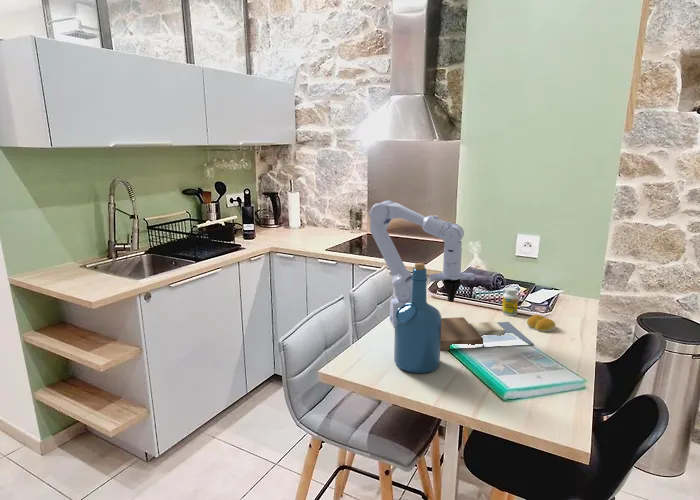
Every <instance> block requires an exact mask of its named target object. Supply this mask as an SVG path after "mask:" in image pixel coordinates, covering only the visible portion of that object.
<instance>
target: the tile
mask: <svg viewBox="0 0 700 500" xmlns="http://www.w3.org/2000/svg"><path fill="white" fill-rule="evenodd" d="M469 324H470V325H471V326H472V327H473V328H474V329H475V330H476V331H477V333H478V334H479V335H480V336H483V335H497V336H498V335H499V336H501V335H504V334H505V330H504V329H503V328H502V327H501V326H500V325H499V324H498V323H497V321H487V322H485V321H483V322H482V321H481V322H469Z"/></svg>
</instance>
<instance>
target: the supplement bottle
mask: <svg viewBox="0 0 700 500" xmlns="http://www.w3.org/2000/svg"><path fill="white" fill-rule="evenodd" d="M504 291H505V293H503V295H502V306H501V307H502V309H501V310H502V311H501V313H502V314H503V315H506V316H509V317H513V316H516V315H517V314H518V307H519V295H518V294H517V288H516V287H505V290H504Z"/></svg>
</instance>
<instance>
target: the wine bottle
mask: <svg viewBox="0 0 700 500" xmlns="http://www.w3.org/2000/svg"><path fill="white" fill-rule="evenodd" d="M427 273H428V272H427V268H426V265H425V263H423V262H415V263H414V267H412V272H411V274H412V279H411V280H412V292H411V301H410V303H407V304H405V305H403V306H401V307H400V308H399V309H398V310H397V312H396V316H395V327H394V350H393V351H394V354H393V355H394V356H393V357H394V359H393V360H394V363H395V365H396V366H397V367H398V368H399V369H400V370H403V371H405V372H408V373H410V374H411V373H412V374H425V373H433V371H436V370H437V369H438V368H439V366H440V363H441V350H440V344H441V320H442V318H443V317H442V314H441V312H440V311H439V309H437V308H436V307H434V306H433V305H432V304H430V303H428V302H427V300H428V299H427V298H428V297H427V296H428V295H427V294H428V293H427V292H428V291H427V281H428V274H427Z"/></svg>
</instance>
